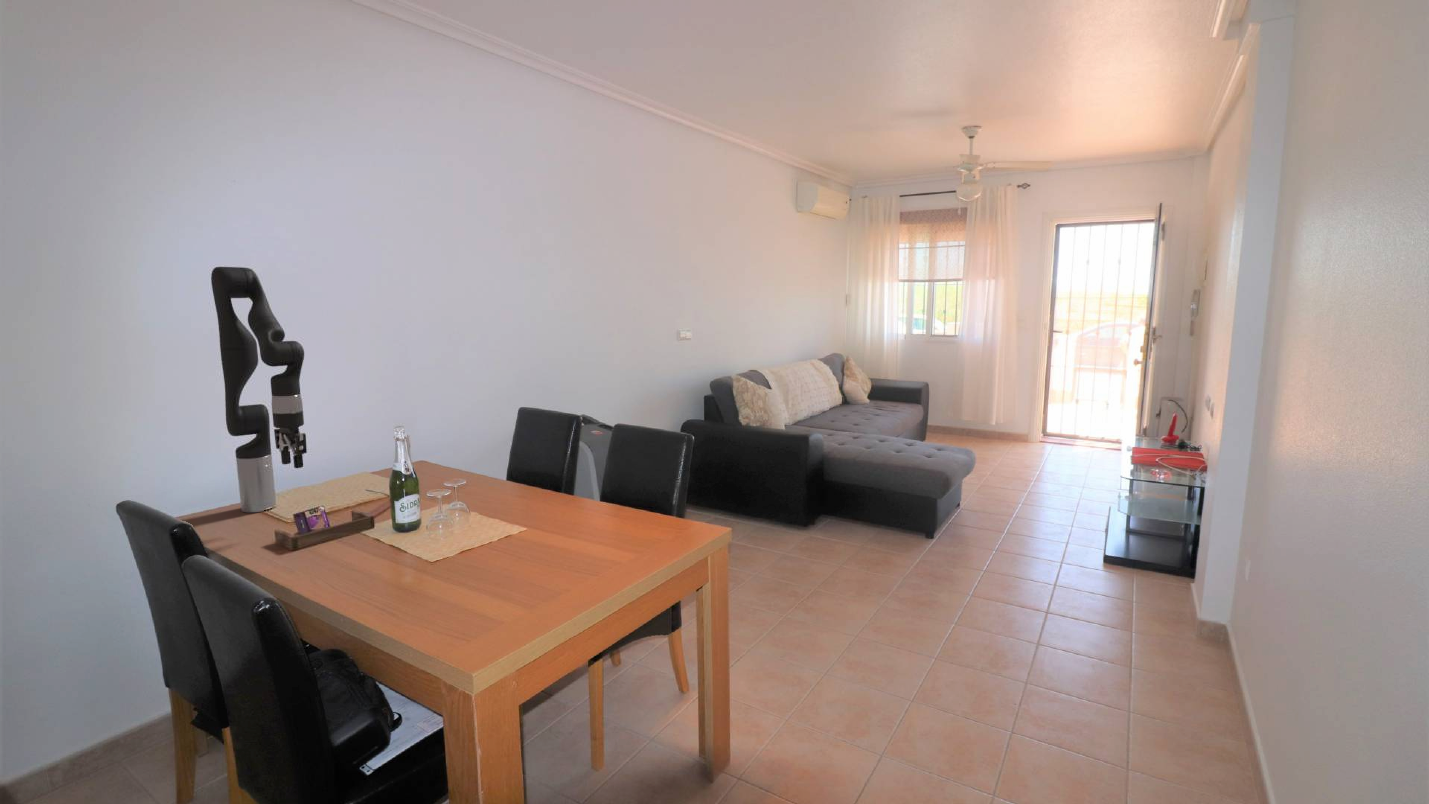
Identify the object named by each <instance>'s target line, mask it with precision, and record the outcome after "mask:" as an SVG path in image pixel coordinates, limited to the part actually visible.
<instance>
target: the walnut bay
mask: <svg viewBox="0 0 1429 804" xmlns="http://www.w3.org/2000/svg"><path fill="white" fill-rule="evenodd" d="M350 512H351V521H348V522H344V523H339V524H337V525H332V526H330V527H328V526H327V527H328V528H324V527H323V528H324V529H322V528H320V529H321V530H319V529H316V530H317V531H316V530H313V531H311V532H310V533H306V534H302V535H299V534H298V535H293V534H291V533H288V532H286V531H284V530H281V529H275V530H274V539H275V543H276V544H278V545H280V546H283V547H285V548H287V549H289V550H292V551H298V550H302V549H305V548H309V547H312V546H316V545H319V544H323V543H326V542H330V541H333V540H337V539H340V538H343V537H347V536H350V535H354V534H358V533H360V532H365V531H368V530H371V529H374V527H375V526H376V525H375V516H374V515H373V514H372V515H371V514H368V513H366V512H362V511H359V510H357V509H352V510H351V511H350ZM364 530H365V531H364Z"/></svg>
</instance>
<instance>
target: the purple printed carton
mask: <svg viewBox="0 0 1429 804" xmlns="http://www.w3.org/2000/svg"><path fill="white" fill-rule="evenodd" d="M319 512H320V514H321V517H319V514H318V513H319ZM306 513H309V514H310V516H308V517H307V515H306ZM292 516H293V520H294V523H295V526H296V529H297V532H298V536H299V535H302V534H306V533H310V532H312V529H313V528H315V527H316V526H318V524H319V523H320V522H321V521H320V520H322V518H323V522H324V525H323V528H319V529H316V530H315V531H317V530H321V529H324V528H328V527H331V524H330V521H329V518H328V516H327V513H326V509H325V506H324V505H319V506H317V507H313V508H310V509H307V510H303V511H299V512H296V513H293V514H292Z"/></svg>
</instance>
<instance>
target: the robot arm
mask: <svg viewBox="0 0 1429 804" xmlns="http://www.w3.org/2000/svg"><path fill="white" fill-rule="evenodd" d="M210 278H211V280H210V281H211V282H210V283H211V289H212V290H211V291H212V295H213V300H214V301H213V302H214V305H215V311H216V317H217V324H218V333H219V336H218V337H219V350H220V358H221V359H220V360H221V367H222V374H223V382H224V396H225V397H224V401H225V406H224V407H225V423H226V424H225V425H226V430H227V432H228V434H229V435H230V436H232V437H242V436H243V437H244V436H251V435H255V437H254V438H253V439H252V440H250V441H248V442H246V443H244V444H242V445H240V446H238V447H236V449H235V461H236V470H237V471H236V472H237V480H238V489H239V501H240V509H241V512H243V513H259V512H265V511H264V510H265V509H266V508H268V507H274V506H275V505H276V506H277V499H276V489H275V479H274V478H275V477H274V466H273V457H272V456H273V455H272V447H271V445H272V443H271V424H270V423H271V422H270V412H269V409H268V408H267V406H266V405H265V404H247V405H240V400H241V395H242V392H243V390H244V388H245V386H246V384H247V383H248V382H249V380H250V378H251V377H252V375H253V374H254V372H255V371H256V369H257V367H258V365H259V356H260V359H261V361H262V363H264V364H265V365H266V366H268V367H272V368H273V367H274V368H275V367H285V366H286V369H284V371H283V372H280V373H278V374H275V375H272V376H271V377H270V389H271V390H270V391H271V413H272V414H271V415H272V423H273V427H274V429H273V433H274V441H275V448H276V450H278V451H279V452H280V457H281V458H280V459H281V464H282V465H289V464H292V460H293V468H294V469H301V468H303V467H304V459H303V458H304V456H303V455H304V454H307V452H308V451H307V450H308V449H307V448H308V447H307V436H306V433H305V432H303V433H302V432H300V427H301V426H302V427H303V426H304V425H305V421H304V420H305V419H304V409H303V406H304V405H303V401H302V399H303V398H302V395H301V385H300V384H301V383H300V378H301V373H302V367H303V365H304V364H303V363H304V359H305V351H304V350H305V349H304V347H303V345H302V344H301V343H300V342H299V341H296V340H285V341H284V339H285V337H286V333H285V331H284V328H283V327H282V325H281V324H280V322H279V321H278V319H277V318H276V317H275V315H274V313H273V310H272V308H271V307H270V303H269V301H268V298H267V295H266V293H265V291H264V288H263V285H262V283H261V281H260V278H259V276H258V275H257V273H256V272H255V271H254V270H253V268H250V267H244V266H243V267H241V266H237V267H236V266H216V267H214V268H213V269H212V271H211V275H210ZM247 298H248V299H249V300H250V301H251V302H252V304H251V307H250V310H249V312H248V315H247V323H248V326H249V328H250V330H251V331H252V332H250V331H249V329H248V328H247V327H246V325H244V324H243V322H242V321H241V320H240V319H239V317H238V316H237V314H236V312H235V310H234V307H233V303H232V299H247ZM252 333H253V334H252ZM254 336H255V337H254ZM255 338H256V339H255ZM256 340H257V341H256ZM258 347H259V353H258ZM258 354H259V355H258ZM290 450H291V451H290ZM291 453H292V455H293V456H292V458H293V459H292V458H291ZM274 508H275V507H274Z"/></svg>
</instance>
